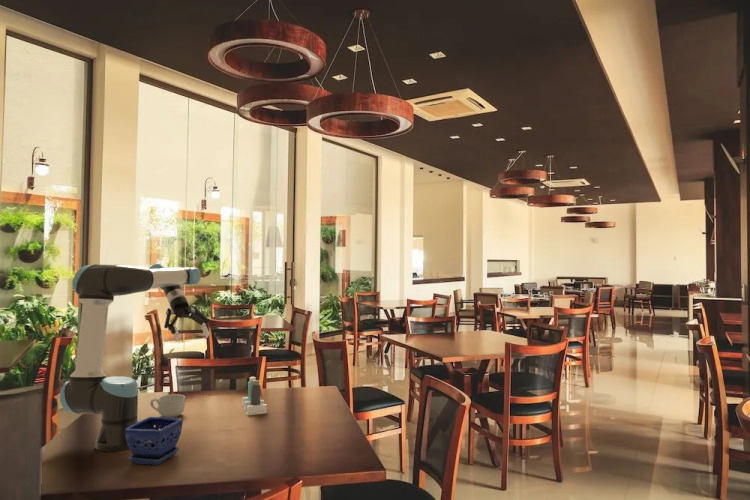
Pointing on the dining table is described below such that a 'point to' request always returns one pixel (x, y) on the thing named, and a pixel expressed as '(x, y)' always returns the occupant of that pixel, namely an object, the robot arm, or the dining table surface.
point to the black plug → (255, 393)
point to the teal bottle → (250, 387)
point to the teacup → (169, 405)
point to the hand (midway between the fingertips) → (193, 337)
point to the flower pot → (153, 439)
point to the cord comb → (254, 407)
